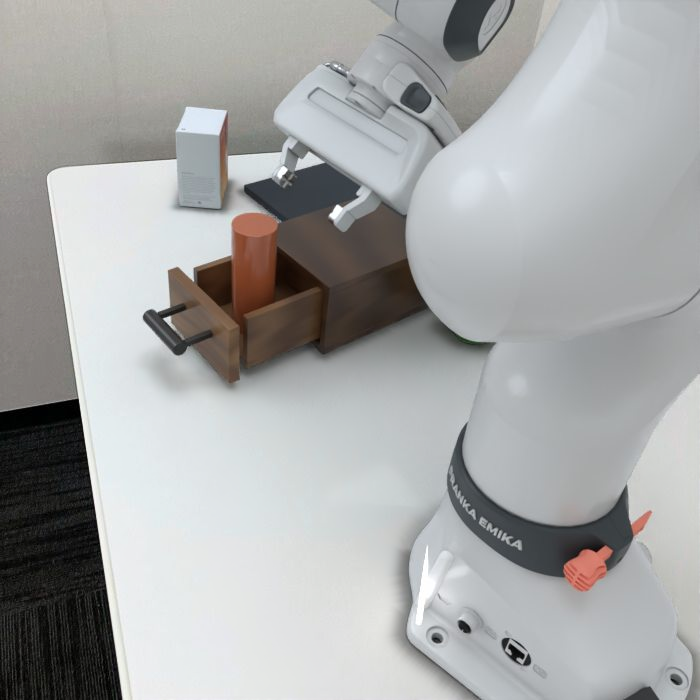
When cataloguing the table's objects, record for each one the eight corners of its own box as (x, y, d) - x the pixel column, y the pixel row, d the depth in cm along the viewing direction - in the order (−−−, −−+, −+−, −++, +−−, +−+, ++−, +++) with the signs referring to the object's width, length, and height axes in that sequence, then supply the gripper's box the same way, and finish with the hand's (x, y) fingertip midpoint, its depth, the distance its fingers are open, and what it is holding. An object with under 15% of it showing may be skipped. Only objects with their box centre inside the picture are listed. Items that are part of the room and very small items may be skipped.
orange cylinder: (282, 327, 81) (287, 228, 74) (246, 341, 79) (248, 241, 71) (258, 305, 84) (260, 207, 76) (223, 318, 81) (222, 219, 74)
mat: (427, 227, 104) (428, 220, 103) (333, 261, 95) (334, 254, 95) (335, 165, 115) (335, 159, 114) (243, 191, 106) (243, 184, 106)
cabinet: (323, 354, 82) (329, 288, 76) (256, 294, 89) (257, 229, 83) (429, 307, 90) (442, 244, 84) (360, 255, 97) (368, 194, 91)
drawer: (189, 401, 73) (187, 346, 69) (132, 337, 79) (127, 282, 75) (344, 334, 83) (350, 282, 79) (283, 281, 89) (285, 230, 85)
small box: (221, 210, 102) (220, 135, 95) (178, 206, 102) (174, 131, 95) (229, 181, 108) (228, 109, 101) (188, 178, 108) (185, 105, 101)
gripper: (311, 36, 79) (229, 146, 80) (452, 112, 67) (354, 238, 68) (342, 73, 84) (264, 175, 85) (477, 149, 72) (386, 266, 74)
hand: (305, 204), depth 77 cm, fingers open, 8 cm apart
